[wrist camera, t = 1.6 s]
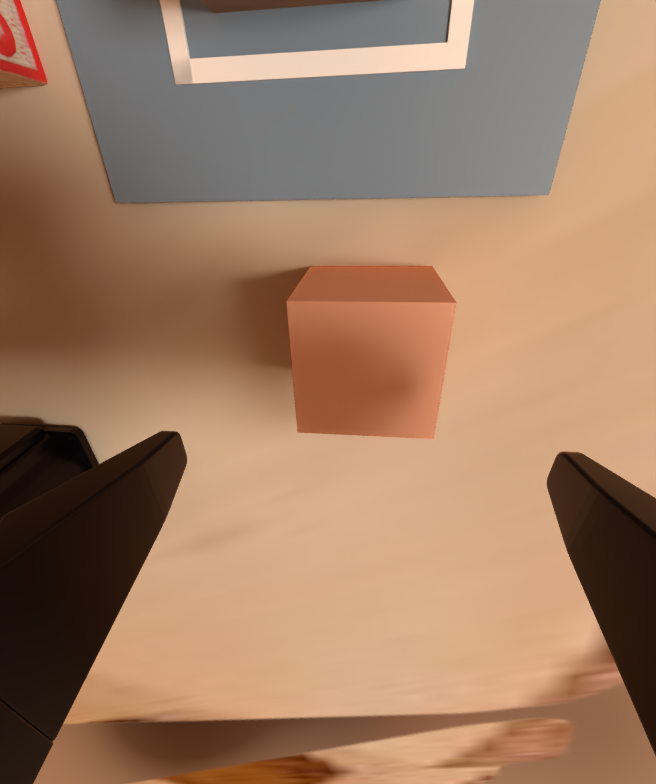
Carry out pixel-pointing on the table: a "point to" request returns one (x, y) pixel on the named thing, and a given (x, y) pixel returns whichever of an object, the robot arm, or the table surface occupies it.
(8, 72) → the stack of blocks
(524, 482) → the table surface
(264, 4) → the walnut base block
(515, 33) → the board
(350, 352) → the terracotta cube
